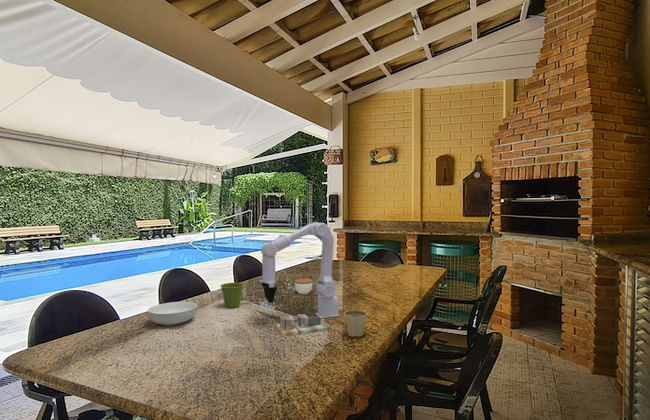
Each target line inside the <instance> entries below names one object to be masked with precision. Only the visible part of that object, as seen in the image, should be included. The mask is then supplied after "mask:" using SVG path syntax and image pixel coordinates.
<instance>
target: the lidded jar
mask: <svg viewBox="0 0 650 420" xmlns="http://www.w3.org/2000/svg"><path fill="white" fill-rule="evenodd" d="M313 282H314V280H313V279H311V278H305V276H304V277H302V278H296V279H295V280H294V288H295V291H296V292H297V293H298V294H299V295H308V294H309V293H310V292H311V291H312V290H313V285H314V284H313Z"/></svg>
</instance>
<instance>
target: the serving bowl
mask: <svg viewBox="0 0 650 420" xmlns="http://www.w3.org/2000/svg"><path fill="white" fill-rule="evenodd" d="M197 311H198V304H197V303H196V302H190V301H171V302H166V303H165V302H163V303H159V304H156V305H153V306H151V307H149V308H148V309H147V315H148V319H150V320H151V321H152V322H153V323H156V324H158V325H164V326H175V325H179V324H182V323H185V322H186V321H189V320H190V319H191V320H192V318H193V317H194V316H195V315H196V313H197Z"/></svg>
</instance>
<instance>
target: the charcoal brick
mask: <svg viewBox="0 0 650 420" xmlns="http://www.w3.org/2000/svg"><path fill="white" fill-rule="evenodd" d="M307 317H308V326H309V325H317V324H321V319H322V318H320V317H319V316H317V315H316V316H307ZM297 322H298V325H299V326H300V327H301V320H300V319H299V318H298V317H297Z"/></svg>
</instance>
